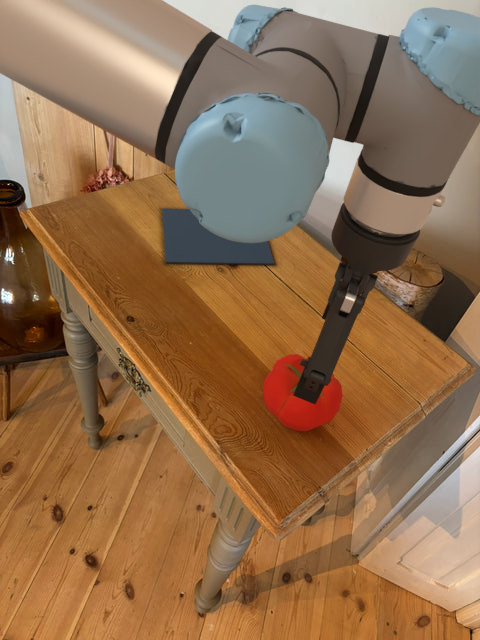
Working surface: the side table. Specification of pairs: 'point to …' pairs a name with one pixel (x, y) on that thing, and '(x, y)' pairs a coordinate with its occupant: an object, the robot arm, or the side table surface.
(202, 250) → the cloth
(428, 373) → the side table surface
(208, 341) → the side table surface
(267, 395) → the tomato
